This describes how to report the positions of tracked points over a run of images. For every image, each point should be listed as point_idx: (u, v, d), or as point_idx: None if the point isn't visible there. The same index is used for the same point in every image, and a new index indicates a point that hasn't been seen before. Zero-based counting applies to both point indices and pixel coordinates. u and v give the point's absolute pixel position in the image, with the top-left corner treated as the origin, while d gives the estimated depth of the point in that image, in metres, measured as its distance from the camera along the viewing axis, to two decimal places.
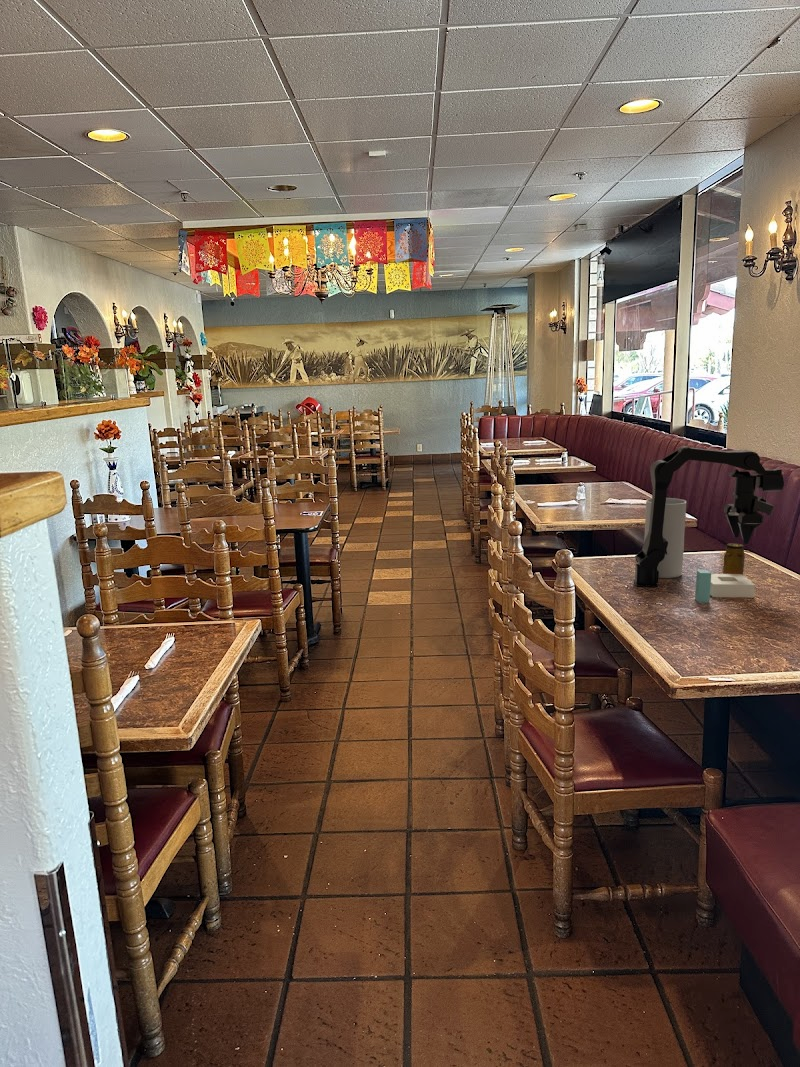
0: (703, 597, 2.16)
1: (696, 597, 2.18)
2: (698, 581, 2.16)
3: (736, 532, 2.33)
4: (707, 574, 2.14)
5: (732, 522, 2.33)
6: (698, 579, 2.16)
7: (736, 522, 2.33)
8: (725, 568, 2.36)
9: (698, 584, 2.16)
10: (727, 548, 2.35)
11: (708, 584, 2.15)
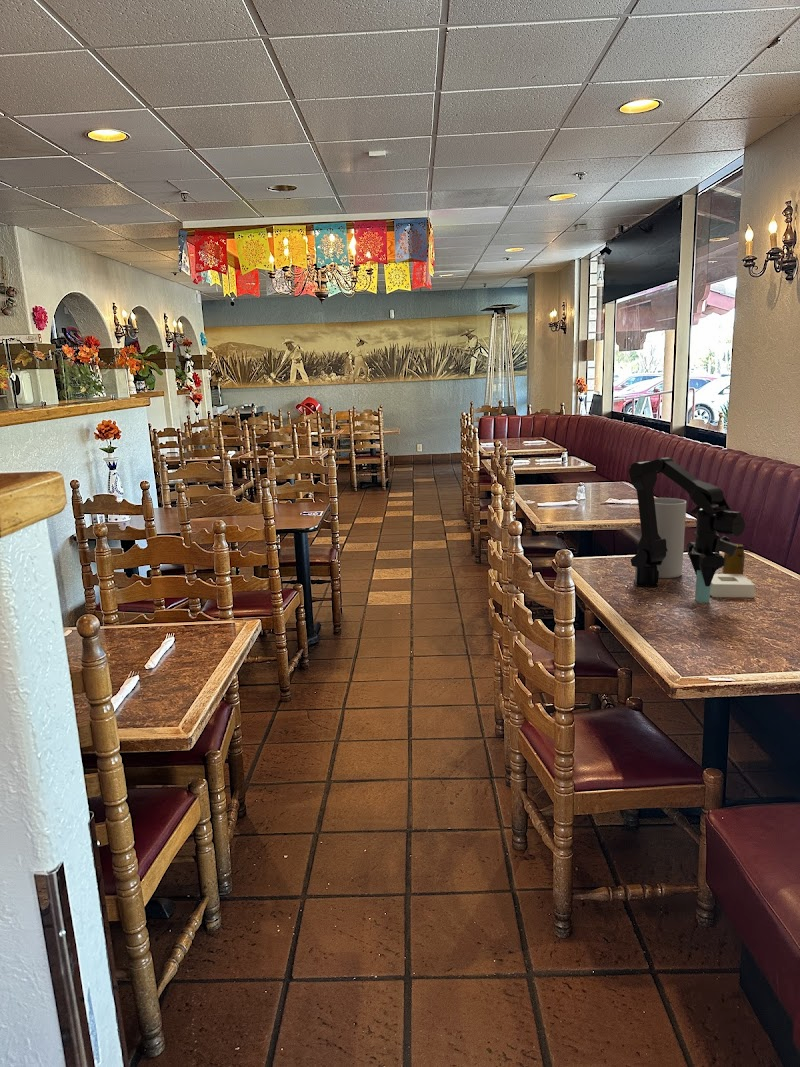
0: (703, 597, 2.16)
1: (696, 597, 2.18)
2: (698, 581, 2.16)
3: None
4: None
5: (694, 562, 2.21)
6: (698, 579, 2.16)
7: (699, 562, 2.20)
8: (725, 568, 2.36)
9: (698, 584, 2.16)
10: None
11: None
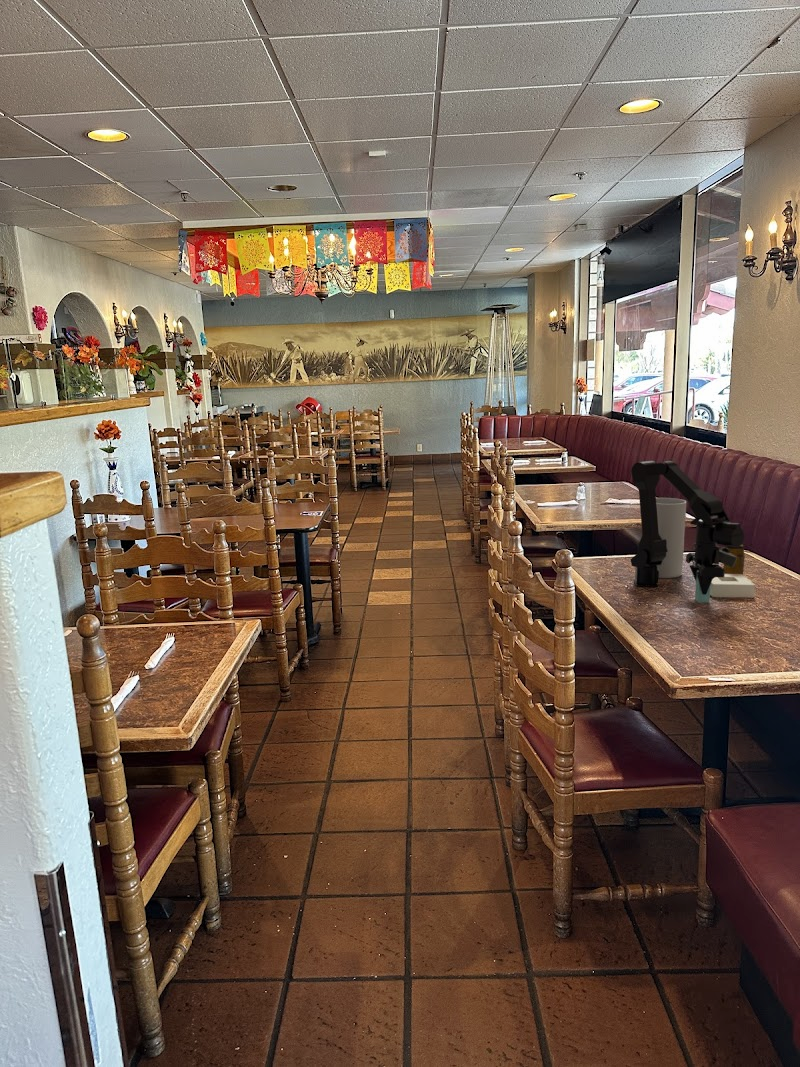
0: (703, 597, 2.16)
1: (696, 597, 2.18)
2: None
3: None
4: None
5: (696, 575, 2.19)
6: None
7: None
8: (725, 568, 2.36)
9: (698, 584, 2.16)
10: (727, 548, 2.35)
11: None
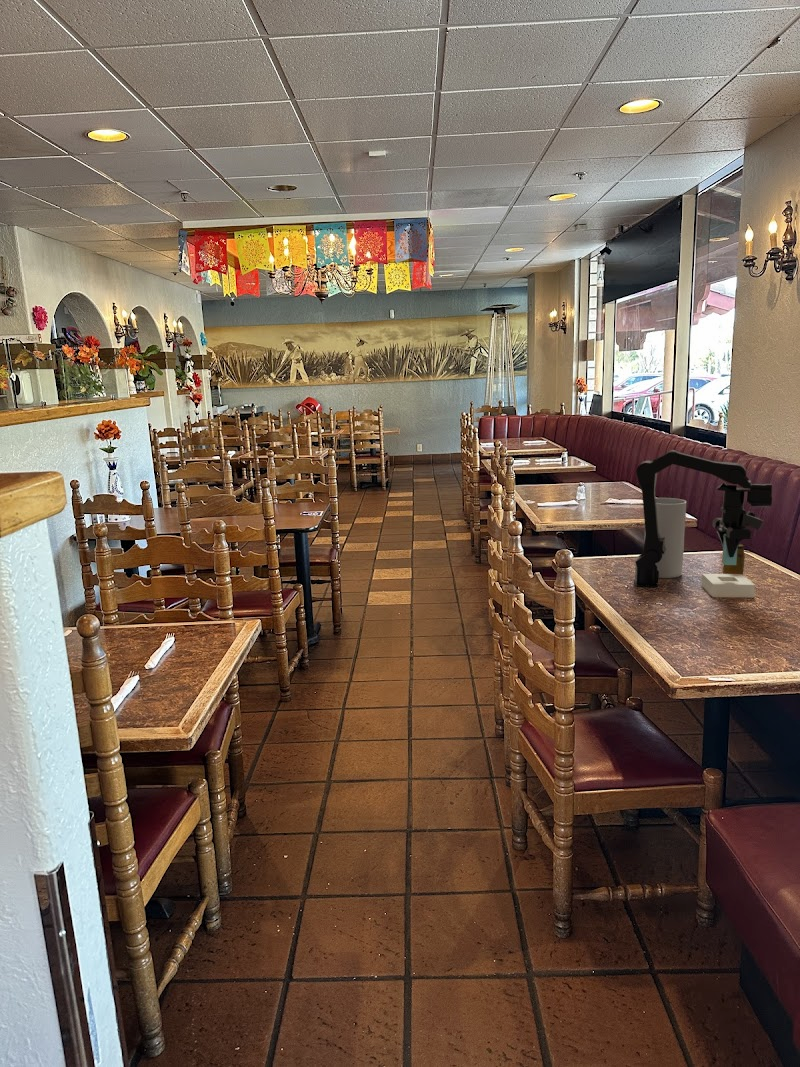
0: (730, 560, 2.22)
1: (723, 560, 2.25)
2: (725, 544, 2.23)
3: None
4: None
5: (723, 538, 2.25)
6: None
7: None
8: (725, 568, 2.36)
9: (725, 547, 2.23)
10: None
11: None
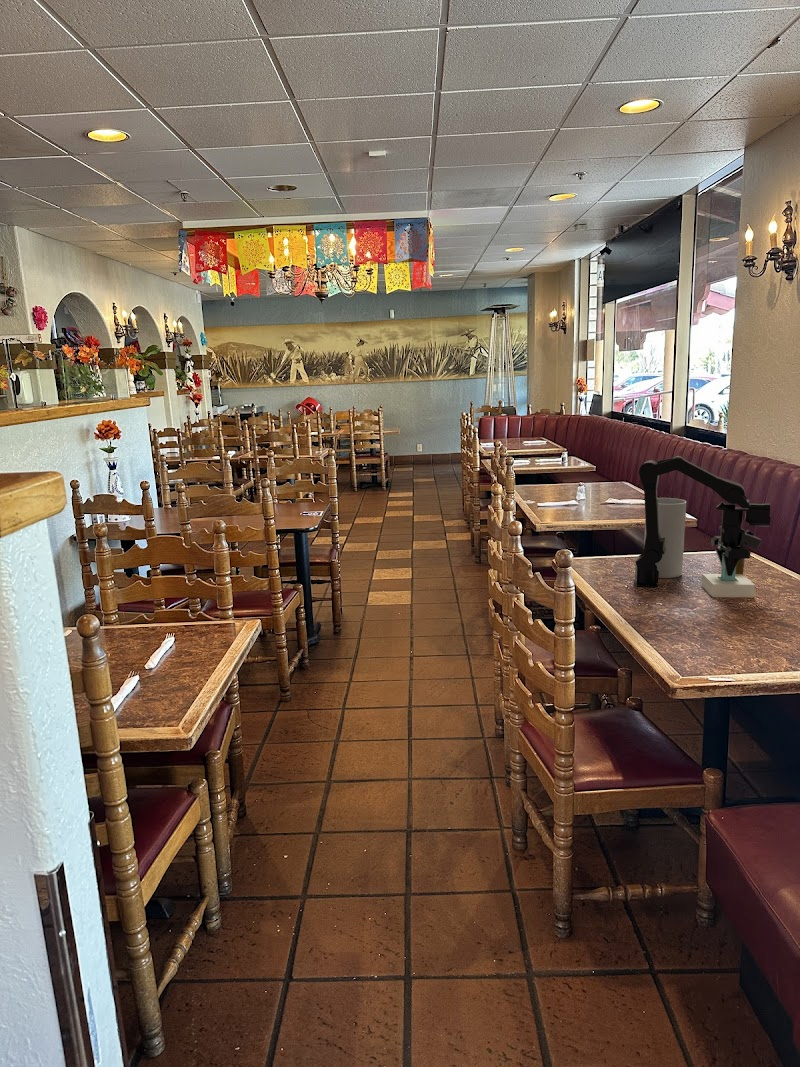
0: (729, 579, 2.24)
1: (722, 579, 2.26)
2: None
3: None
4: None
5: (721, 557, 2.26)
6: None
7: None
8: None
9: (724, 566, 2.24)
10: None
11: None
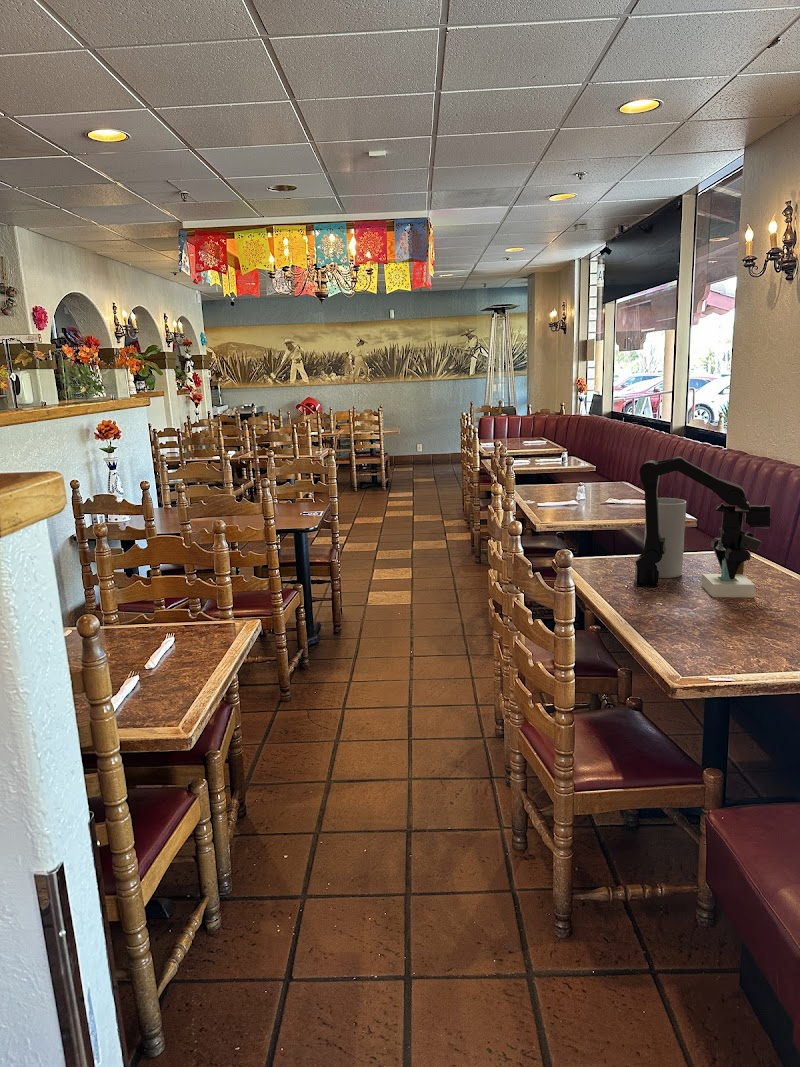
0: None
1: None
2: (723, 570, 2.24)
3: None
4: None
5: (720, 557, 2.28)
6: (723, 568, 2.24)
7: None
8: None
9: (723, 573, 2.25)
10: None
11: None
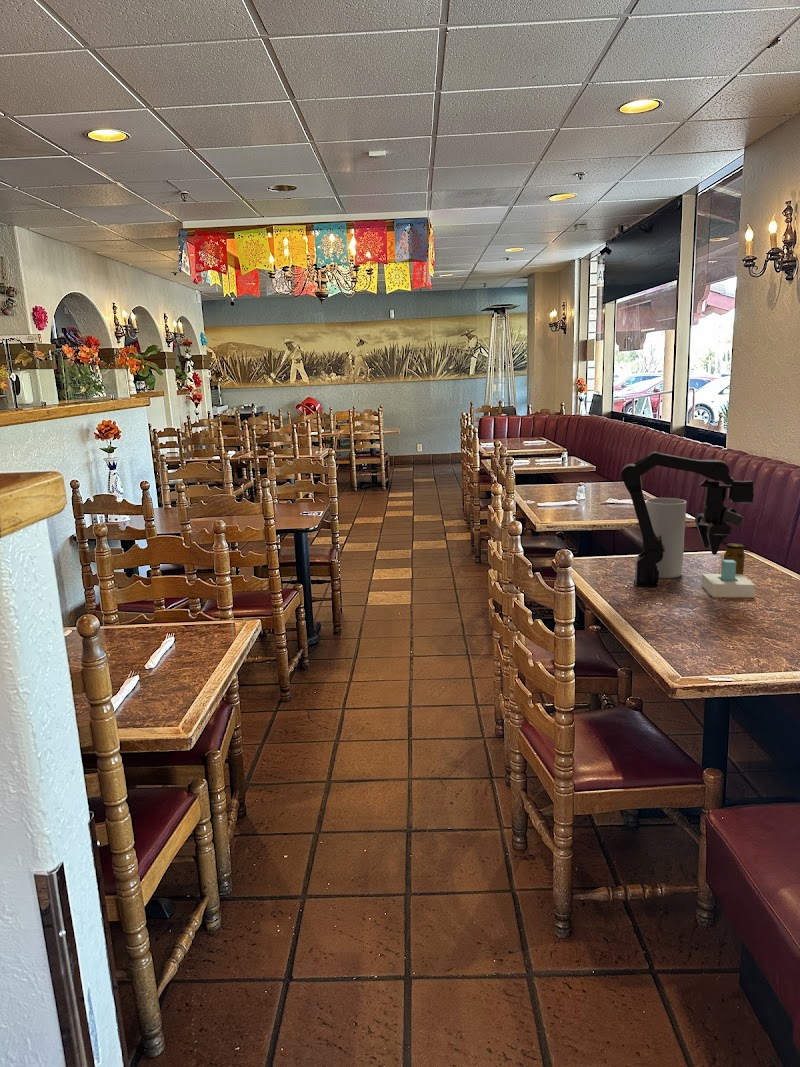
0: None
1: None
2: (723, 570, 2.24)
3: (706, 542, 2.31)
4: (732, 563, 2.23)
5: (702, 532, 2.32)
6: (723, 568, 2.24)
7: (706, 532, 2.31)
8: None
9: (723, 573, 2.25)
10: (727, 548, 2.35)
11: (733, 573, 2.23)
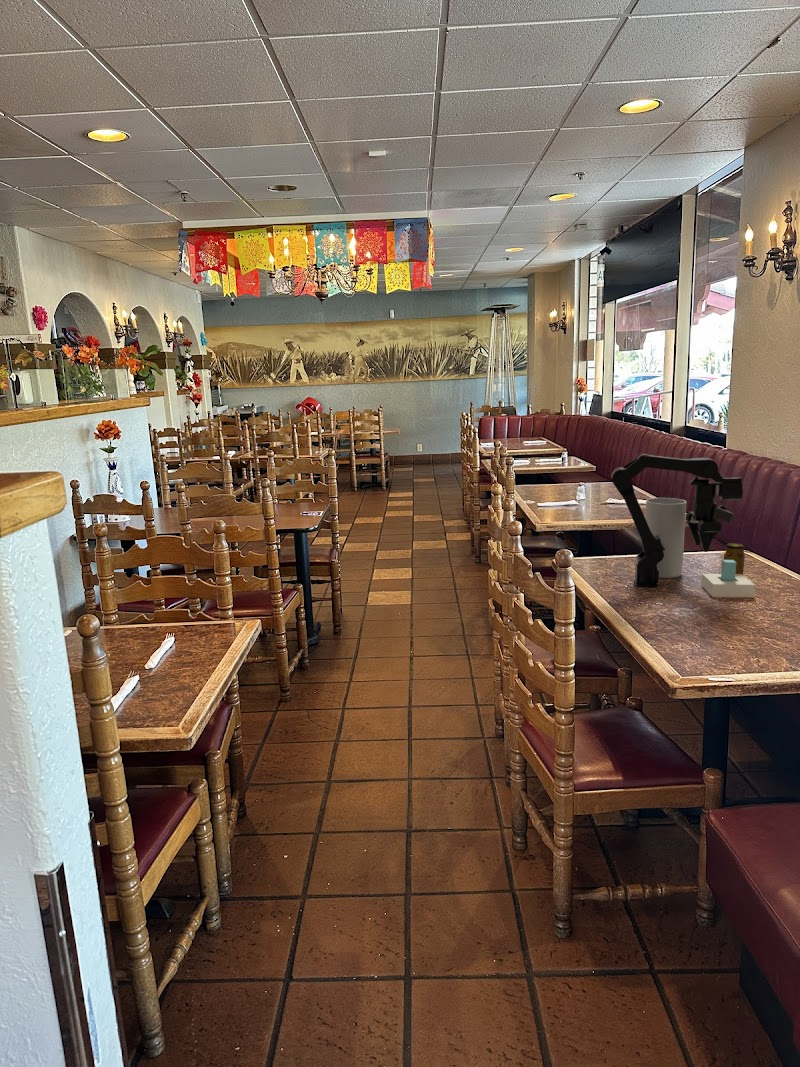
0: None
1: None
2: (723, 570, 2.24)
3: (697, 540, 2.33)
4: (732, 563, 2.23)
5: (693, 530, 2.33)
6: (723, 568, 2.24)
7: (697, 530, 2.33)
8: None
9: (723, 573, 2.25)
10: (727, 548, 2.35)
11: (733, 573, 2.23)
